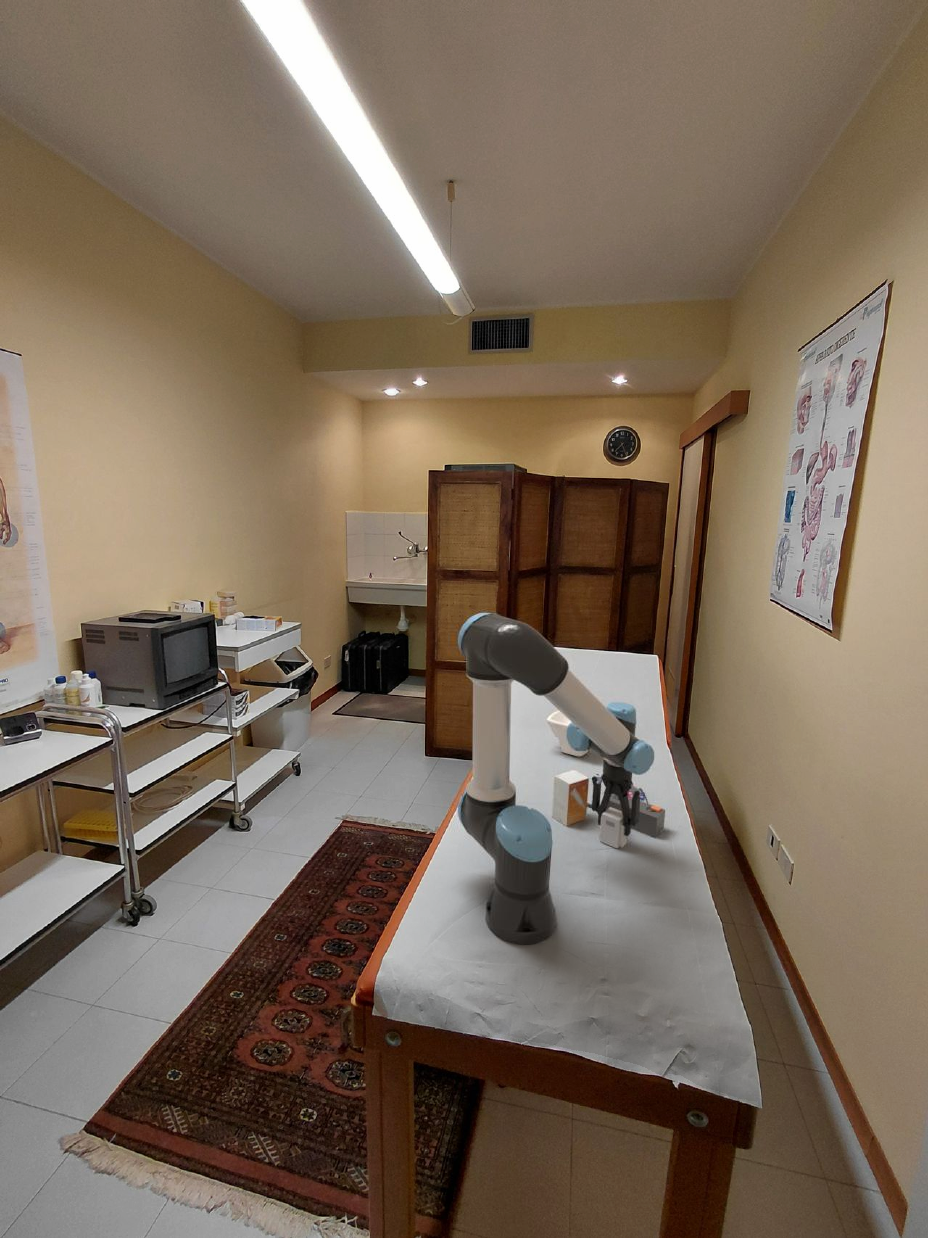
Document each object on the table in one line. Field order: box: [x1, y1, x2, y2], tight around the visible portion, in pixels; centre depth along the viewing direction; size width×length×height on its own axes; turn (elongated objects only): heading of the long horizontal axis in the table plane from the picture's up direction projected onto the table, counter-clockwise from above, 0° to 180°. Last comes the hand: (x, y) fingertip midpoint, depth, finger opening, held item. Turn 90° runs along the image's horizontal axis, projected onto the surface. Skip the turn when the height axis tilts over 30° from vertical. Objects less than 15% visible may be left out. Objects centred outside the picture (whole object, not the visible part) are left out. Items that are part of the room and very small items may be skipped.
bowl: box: [546, 709, 589, 757], centre depth 204 cm, size 19×19×14 cm
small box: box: [551, 769, 590, 827], centre depth 158 cm, size 8×6×13 cm
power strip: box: [587, 794, 666, 839], centre depth 159 cm, size 6×24×7 cm, turn 50°
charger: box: [599, 807, 624, 849], centre depth 148 cm, size 9×5×8 cm, turn 140°
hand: (613, 840), depth 147 cm, fingers open, 5 cm apart
